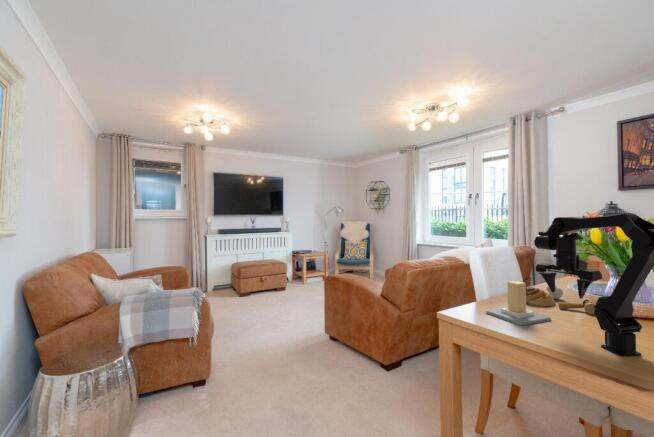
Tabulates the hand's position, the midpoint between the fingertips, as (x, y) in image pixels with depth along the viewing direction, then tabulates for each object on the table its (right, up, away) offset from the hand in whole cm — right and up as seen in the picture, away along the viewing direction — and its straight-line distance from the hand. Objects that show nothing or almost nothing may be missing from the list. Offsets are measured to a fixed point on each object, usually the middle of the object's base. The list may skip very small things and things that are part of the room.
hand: (566, 295), depth 106 cm
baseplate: (-7, -13, +16) cm, 22 cm away
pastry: (+14, -13, +36) cm, 40 cm away
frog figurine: (+27, -13, +40) cm, 50 cm away
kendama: (+25, -13, +21) cm, 35 cm away
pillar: (-7, -12, +16) cm, 21 cm away
